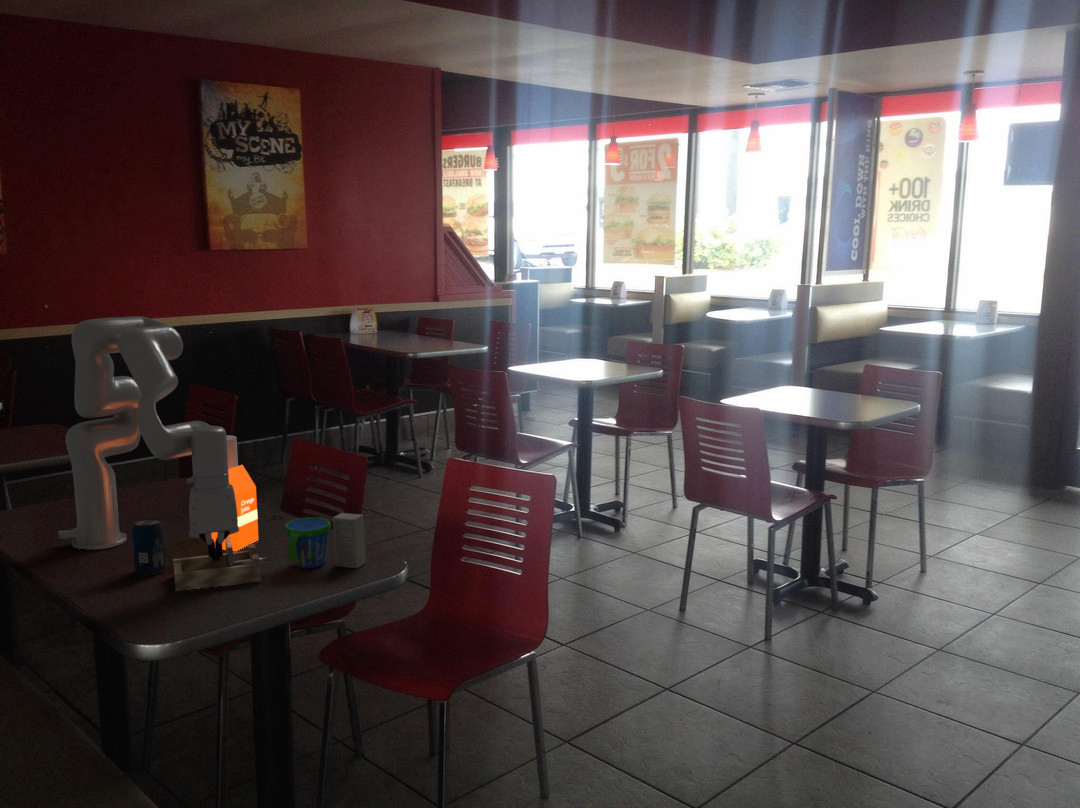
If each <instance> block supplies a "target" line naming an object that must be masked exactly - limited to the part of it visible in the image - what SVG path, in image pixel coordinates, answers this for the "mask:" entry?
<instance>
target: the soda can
mask: <svg viewBox="0 0 1080 808" xmlns="http://www.w3.org/2000/svg"><path fill="white" fill-rule="evenodd" d="M131 538H132V550H133V551H132V552H133V564H134V569H135V571H136V573H137V574H138V573H140V574H153V573H158V572H160V571H162V572H164V570H165V569H166V566H167V565H168V563H167V553H166V537H165V526H164V525H163V523H162V521H161V519H160V518H155V517H149V518H148V517H147V518H143V519H139V520H135V522H134V523H133V527H132V529H131ZM140 574H139V575H140ZM158 574H159V573H158Z"/></svg>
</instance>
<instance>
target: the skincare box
mask: <svg viewBox="0 0 1080 808" xmlns="http://www.w3.org/2000/svg"><path fill="white" fill-rule="evenodd" d="M364 519H365V518H364V514H360V513H349V512H348V513H347V512H341V513H338V514H337V515H335V516H333V517H332V528H333V529H332V531H333V542H334V544H333V545H334V561H335V563H334V564H335V566H336V567H343V568H351V569H359V568H360V567H361V566H363V565H365V564H366V563H367V559H366V557H367V556H366V555H367V554H366V553H367V552H366V538H365V522H364Z"/></svg>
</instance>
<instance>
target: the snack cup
mask: <svg viewBox="0 0 1080 808" xmlns="http://www.w3.org/2000/svg"><path fill="white" fill-rule="evenodd" d="M331 528H332V523H331V521H330V520H328V519H327V518H324V517H317V516H316V517H314V516H312V517H310V516H307V517H299V518H294V519H291V520H289V521H288V522H287V523H285V525H284V528H283V529H284V530H283V531H284V532H285V534H286V535H287V539H288V540H287V541H288V545H287V552H286V553H287V554H286V556H287V559H288V560H289V561H291V562H292V563H293V566H295V567H297V568H299V569H314V568H315V569H316V568H318V567H321V566H322V565H324V563H326V559H327V552H328V543H329V538H330V536H329V533H330V530H331Z"/></svg>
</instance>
